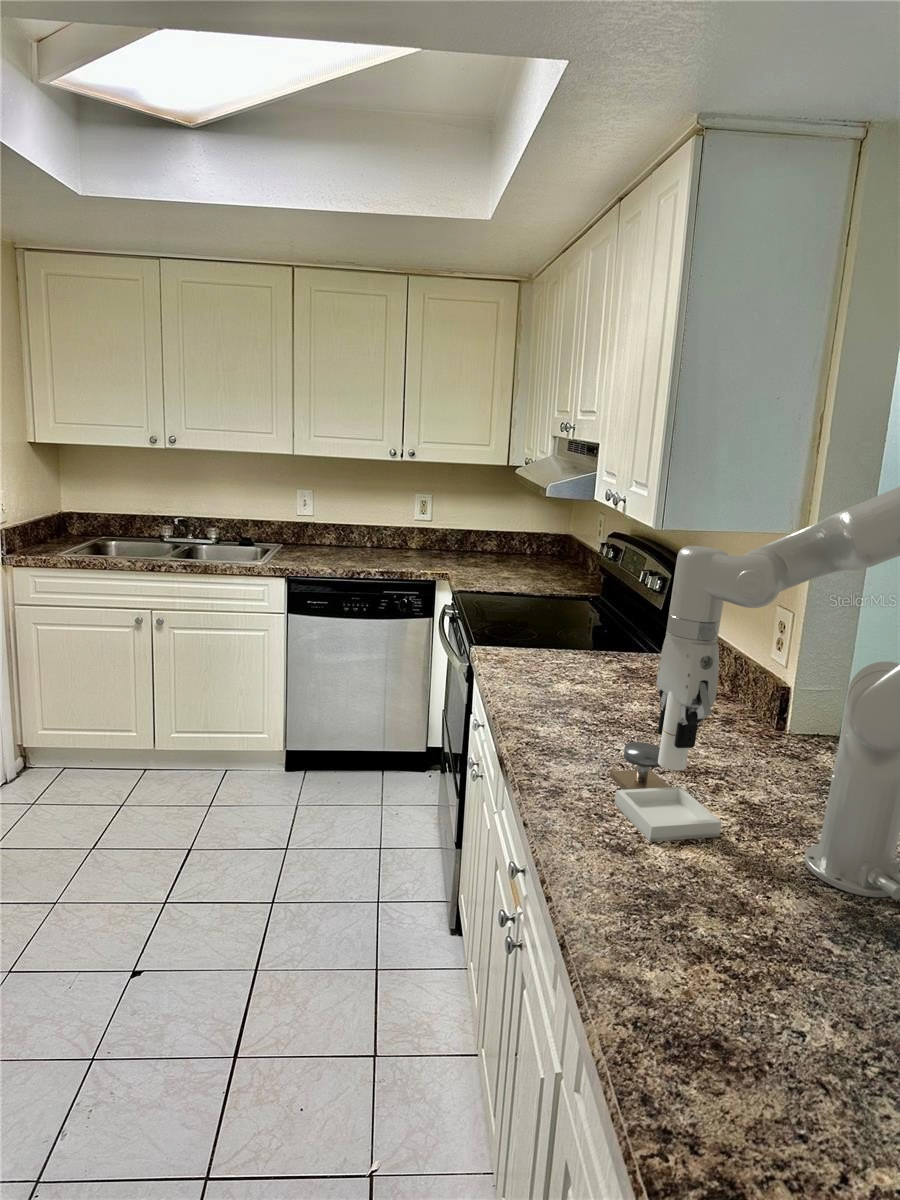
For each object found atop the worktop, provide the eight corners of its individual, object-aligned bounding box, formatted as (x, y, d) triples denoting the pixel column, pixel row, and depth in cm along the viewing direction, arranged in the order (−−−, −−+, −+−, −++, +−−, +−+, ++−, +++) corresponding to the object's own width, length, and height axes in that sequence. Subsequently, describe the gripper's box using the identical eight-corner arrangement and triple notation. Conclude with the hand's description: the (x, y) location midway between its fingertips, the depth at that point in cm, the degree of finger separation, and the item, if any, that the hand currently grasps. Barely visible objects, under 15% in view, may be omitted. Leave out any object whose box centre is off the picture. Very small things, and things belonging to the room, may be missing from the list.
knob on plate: (672, 794, 133) (677, 759, 132) (630, 797, 131) (635, 761, 130) (649, 774, 141) (654, 740, 139) (609, 776, 139) (614, 741, 137)
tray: (719, 836, 120) (721, 822, 119) (649, 841, 117) (651, 826, 116) (678, 800, 131) (680, 786, 131) (614, 804, 128) (616, 790, 128)
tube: (666, 771, 120) (680, 679, 116) (652, 759, 124) (665, 670, 120) (691, 769, 121) (705, 678, 117) (676, 758, 125) (690, 669, 121)
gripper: (747, 644, 110) (727, 762, 114) (685, 614, 126) (669, 719, 130) (701, 644, 108) (682, 764, 112) (643, 613, 124) (628, 720, 128)
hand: (675, 739), depth 121 cm, fingers closed on tube, 4 cm apart
